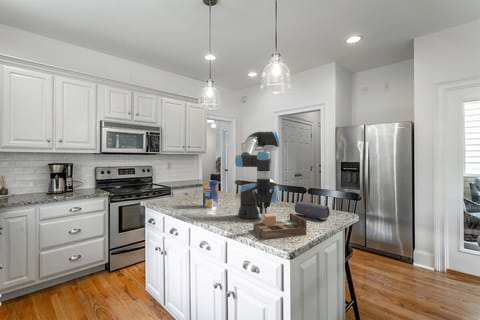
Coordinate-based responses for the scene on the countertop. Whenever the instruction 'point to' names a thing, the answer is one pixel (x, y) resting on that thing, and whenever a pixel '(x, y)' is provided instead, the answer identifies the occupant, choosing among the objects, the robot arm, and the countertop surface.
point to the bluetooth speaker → (312, 210)
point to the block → (269, 219)
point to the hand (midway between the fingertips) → (263, 219)
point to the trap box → (282, 228)
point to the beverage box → (210, 193)
